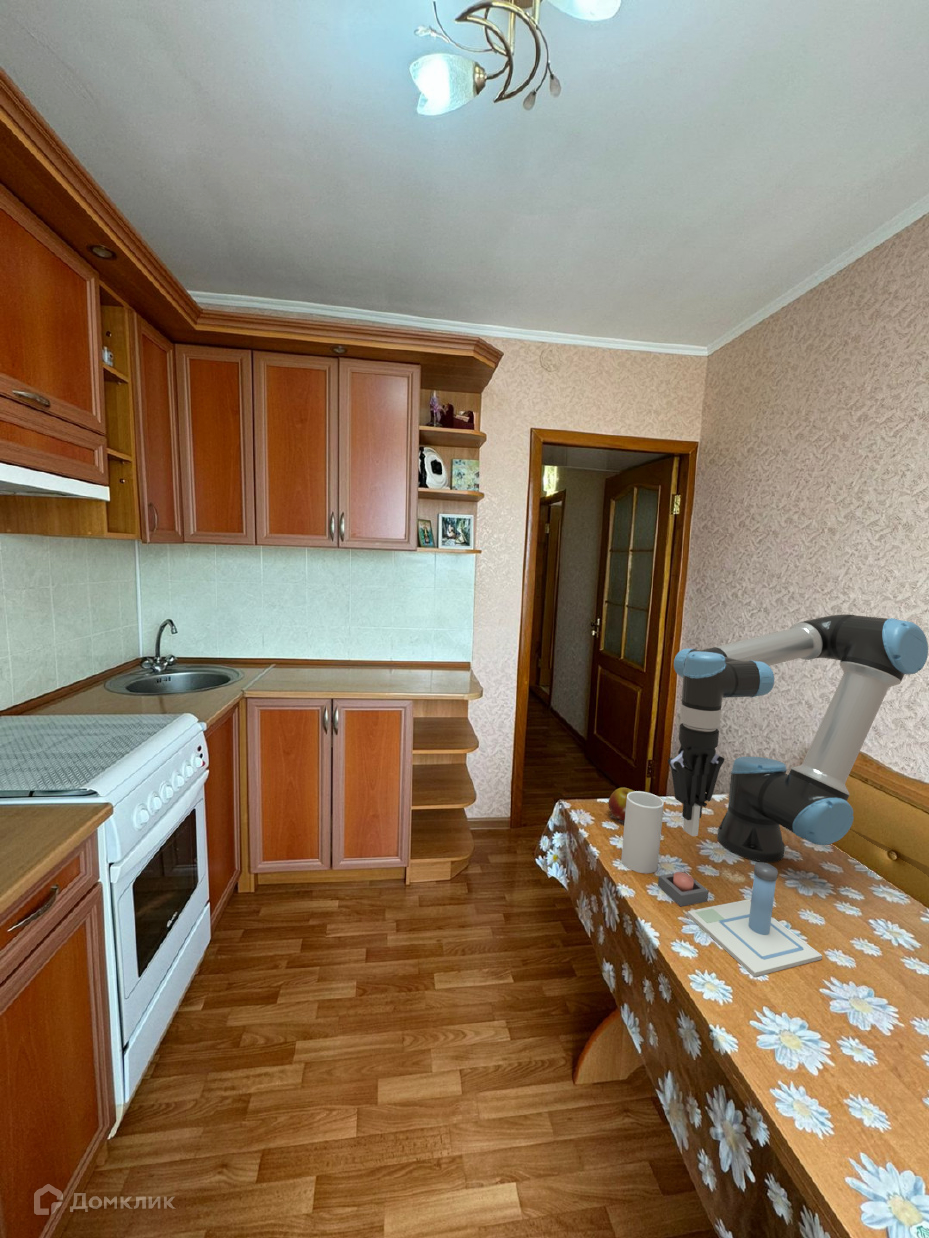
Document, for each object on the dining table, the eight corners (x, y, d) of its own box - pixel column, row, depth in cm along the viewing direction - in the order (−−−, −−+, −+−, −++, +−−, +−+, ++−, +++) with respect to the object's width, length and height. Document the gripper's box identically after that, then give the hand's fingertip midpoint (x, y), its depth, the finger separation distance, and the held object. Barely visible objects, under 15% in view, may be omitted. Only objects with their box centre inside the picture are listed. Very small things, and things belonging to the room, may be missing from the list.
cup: (660, 876, 115) (667, 809, 113) (623, 870, 116) (629, 804, 115) (654, 856, 123) (660, 793, 121) (619, 850, 124) (625, 789, 123)
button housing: (683, 881, 113) (684, 871, 113) (707, 901, 106) (708, 890, 106) (657, 885, 111) (658, 875, 111) (680, 906, 104) (681, 895, 104)
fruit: (636, 830, 135) (638, 801, 134) (602, 819, 140) (605, 792, 139) (644, 816, 143) (647, 789, 142) (613, 806, 148) (615, 780, 147)
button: (683, 881, 111) (684, 870, 111) (696, 892, 107) (698, 881, 107) (668, 884, 110) (669, 873, 110) (681, 895, 106) (682, 884, 106)
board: (748, 902, 107) (748, 898, 107) (821, 959, 92) (822, 954, 91) (687, 914, 102) (687, 910, 102) (754, 976, 87) (754, 972, 87)
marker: (757, 919, 100) (764, 860, 99) (774, 932, 97) (782, 871, 95) (743, 923, 99) (750, 863, 98) (760, 937, 95) (768, 875, 94)
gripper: (710, 718, 110) (701, 820, 113) (661, 722, 106) (653, 827, 109) (738, 729, 103) (728, 837, 106) (686, 733, 99) (677, 846, 102)
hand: (690, 832), depth 107 cm, fingers closed
